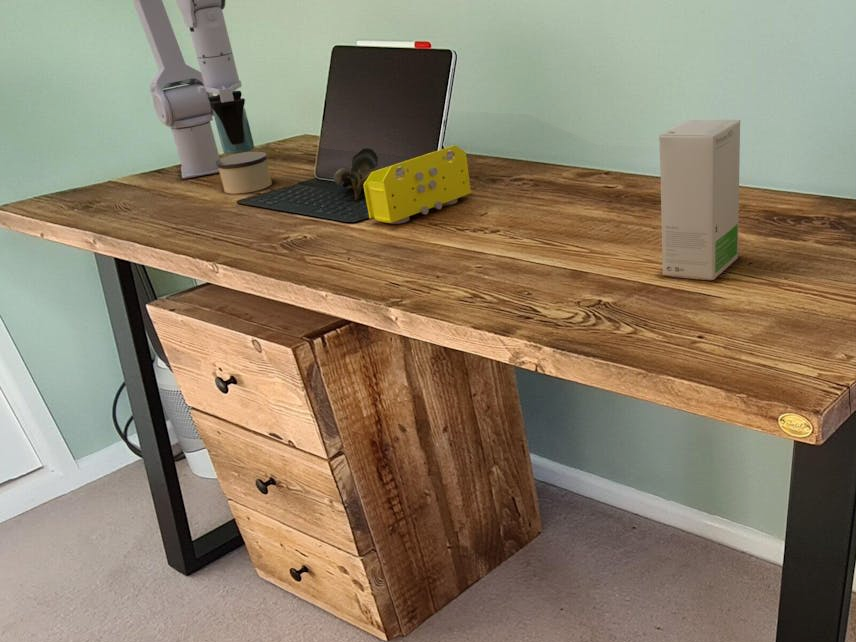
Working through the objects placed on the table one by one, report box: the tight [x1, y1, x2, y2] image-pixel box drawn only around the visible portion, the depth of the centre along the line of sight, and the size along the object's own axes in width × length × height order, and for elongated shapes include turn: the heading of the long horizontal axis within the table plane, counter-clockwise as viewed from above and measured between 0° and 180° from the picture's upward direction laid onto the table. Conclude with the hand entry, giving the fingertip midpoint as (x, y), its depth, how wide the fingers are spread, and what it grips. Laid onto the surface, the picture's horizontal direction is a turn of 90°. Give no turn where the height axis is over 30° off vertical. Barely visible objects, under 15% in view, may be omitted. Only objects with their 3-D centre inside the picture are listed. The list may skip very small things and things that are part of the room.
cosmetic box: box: [658, 119, 741, 281], centre depth 99 cm, size 8×7×16 cm
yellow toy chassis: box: [363, 144, 472, 225], centre depth 133 cm, size 16×6×8 cm, turn 137°
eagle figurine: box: [333, 147, 379, 201], centre depth 146 cm, size 8×7×9 cm
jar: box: [216, 151, 273, 195], centre depth 158 cm, size 9×9×5 cm
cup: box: [213, 107, 255, 155], centre depth 154 cm, size 5×5×6 cm
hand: (236, 140), depth 155 cm, fingers closed on cup, 5 cm apart
